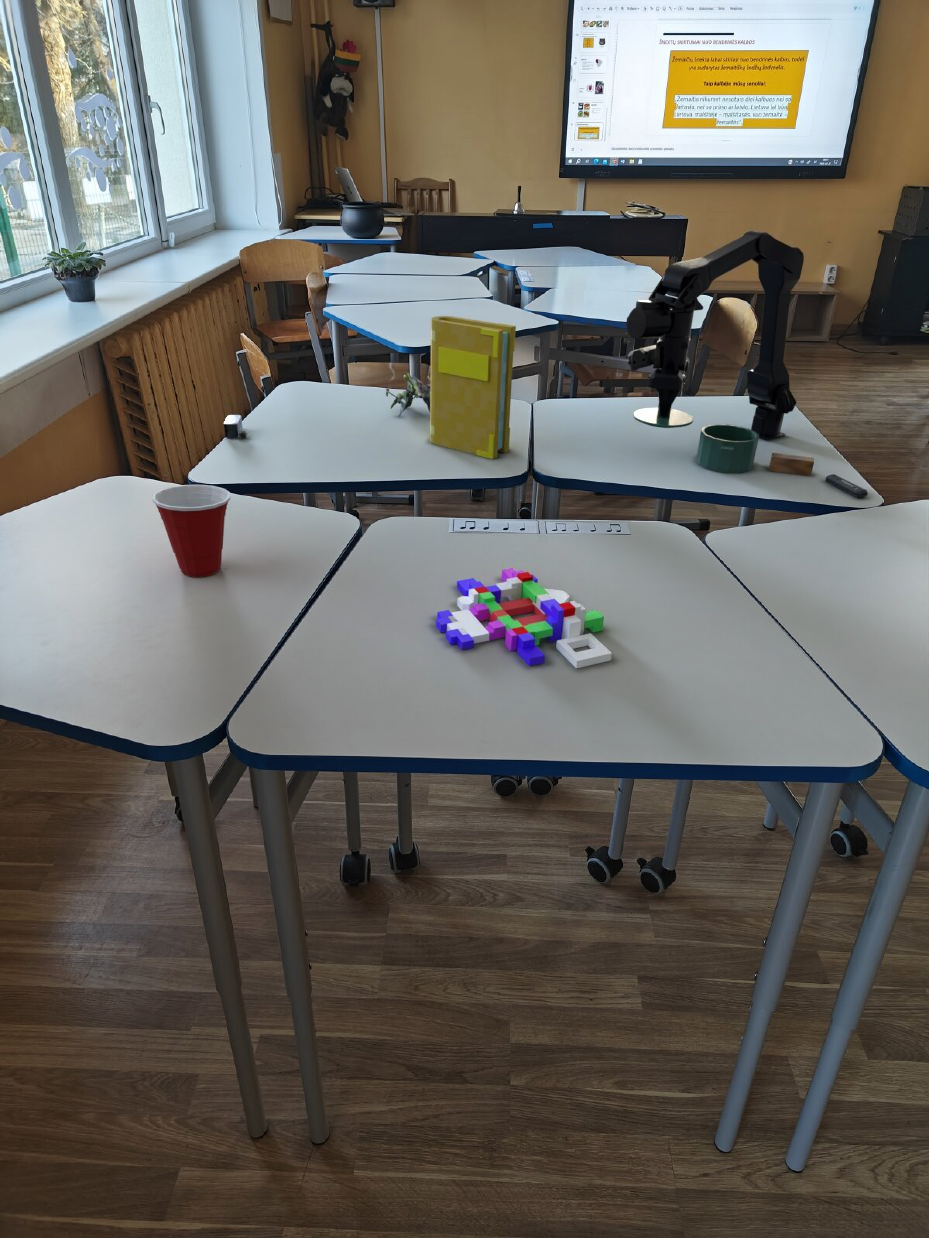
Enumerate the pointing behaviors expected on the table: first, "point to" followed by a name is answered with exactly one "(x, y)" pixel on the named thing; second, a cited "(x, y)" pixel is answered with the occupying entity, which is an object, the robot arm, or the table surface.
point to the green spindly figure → (412, 393)
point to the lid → (663, 418)
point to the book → (471, 384)
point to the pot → (727, 448)
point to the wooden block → (791, 464)
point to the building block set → (523, 619)
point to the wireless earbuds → (234, 427)
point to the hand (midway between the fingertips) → (663, 413)
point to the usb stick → (846, 486)
